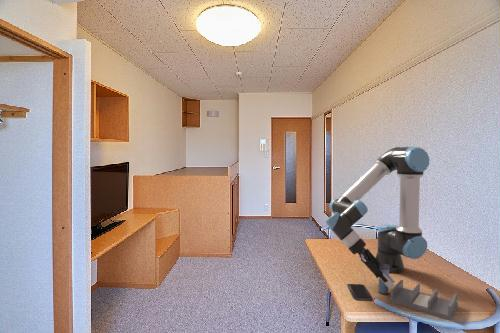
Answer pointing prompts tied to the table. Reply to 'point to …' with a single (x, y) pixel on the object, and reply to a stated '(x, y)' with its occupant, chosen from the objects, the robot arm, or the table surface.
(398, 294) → the rack
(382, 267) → the grey cylinder
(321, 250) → the table surface
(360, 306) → the table surface
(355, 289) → the phone
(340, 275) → the table surface
